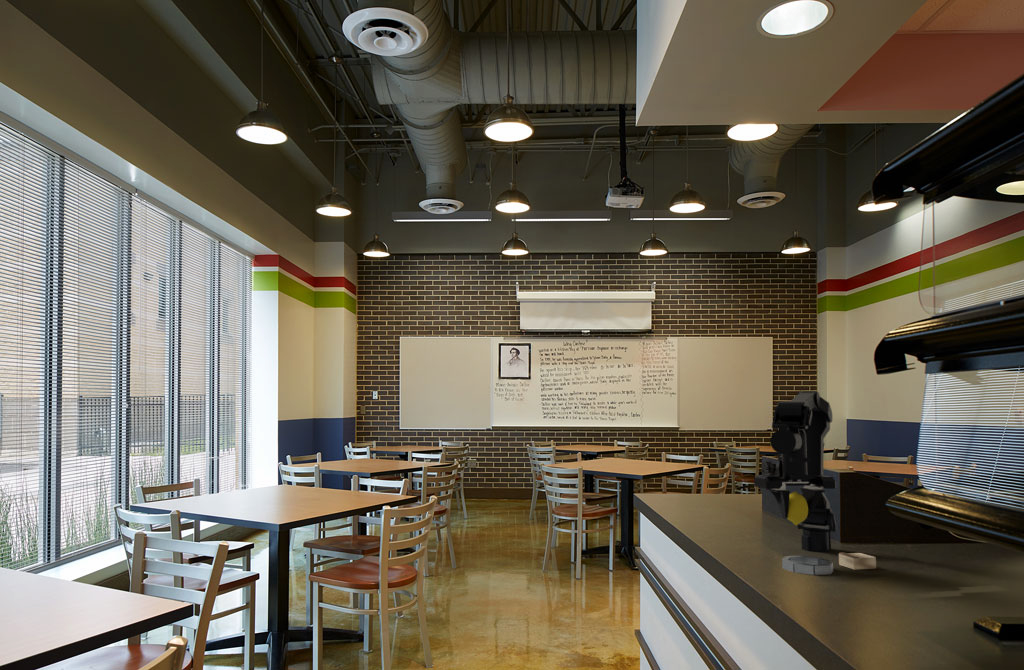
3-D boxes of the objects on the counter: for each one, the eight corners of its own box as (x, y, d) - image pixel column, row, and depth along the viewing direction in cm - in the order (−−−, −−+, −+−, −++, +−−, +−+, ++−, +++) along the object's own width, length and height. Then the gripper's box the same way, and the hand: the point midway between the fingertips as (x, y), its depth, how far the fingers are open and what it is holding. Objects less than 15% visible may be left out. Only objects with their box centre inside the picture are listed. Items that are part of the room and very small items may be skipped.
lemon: (812, 525, 162) (811, 491, 163) (803, 527, 158) (802, 493, 159) (789, 522, 166) (788, 489, 167) (779, 525, 162) (778, 491, 163)
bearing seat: (812, 563, 163) (812, 554, 163) (842, 573, 153) (842, 564, 153) (774, 565, 160) (774, 556, 161) (802, 576, 150) (802, 566, 151)
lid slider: (860, 563, 163) (860, 551, 163) (876, 568, 158) (875, 556, 158) (839, 564, 161) (838, 552, 162) (854, 569, 156) (853, 557, 157)
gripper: (807, 451, 174) (809, 513, 172) (741, 450, 170) (742, 514, 168) (836, 453, 163) (838, 520, 161) (766, 453, 159) (768, 520, 157)
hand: (795, 518), depth 162 cm, fingers closed on lemon, 5 cm apart
